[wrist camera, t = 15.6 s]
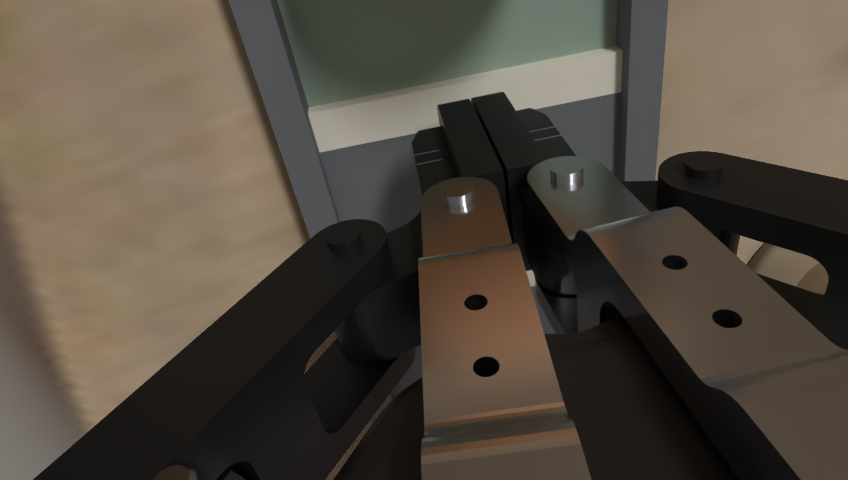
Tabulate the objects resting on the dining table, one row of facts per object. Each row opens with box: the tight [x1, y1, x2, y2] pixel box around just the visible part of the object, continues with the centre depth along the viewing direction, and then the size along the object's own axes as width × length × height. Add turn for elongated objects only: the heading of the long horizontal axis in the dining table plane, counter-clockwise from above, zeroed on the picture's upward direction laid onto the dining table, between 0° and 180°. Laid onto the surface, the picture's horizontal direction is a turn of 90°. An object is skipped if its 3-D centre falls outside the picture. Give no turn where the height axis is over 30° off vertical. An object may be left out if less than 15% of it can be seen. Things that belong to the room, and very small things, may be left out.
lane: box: [228, 0, 668, 422], centre depth 14 cm, size 24×9×3 cm, turn 10°
